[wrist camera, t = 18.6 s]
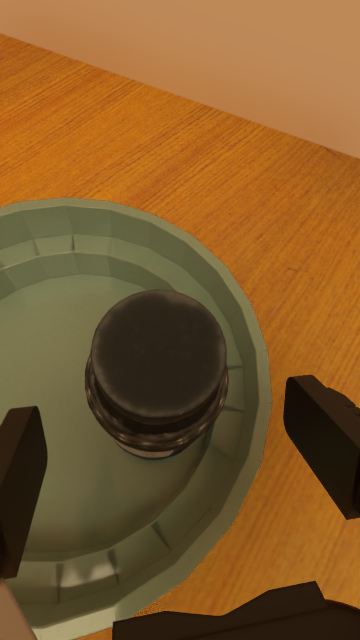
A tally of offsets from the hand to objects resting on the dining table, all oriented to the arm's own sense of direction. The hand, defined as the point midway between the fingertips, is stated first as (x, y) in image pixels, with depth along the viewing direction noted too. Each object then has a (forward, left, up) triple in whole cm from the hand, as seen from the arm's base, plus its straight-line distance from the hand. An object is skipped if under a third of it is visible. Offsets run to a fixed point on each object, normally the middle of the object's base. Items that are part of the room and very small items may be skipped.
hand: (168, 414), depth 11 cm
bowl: (+4, -4, -11) cm, 13 cm away
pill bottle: (0, -2, -11) cm, 11 cm away
